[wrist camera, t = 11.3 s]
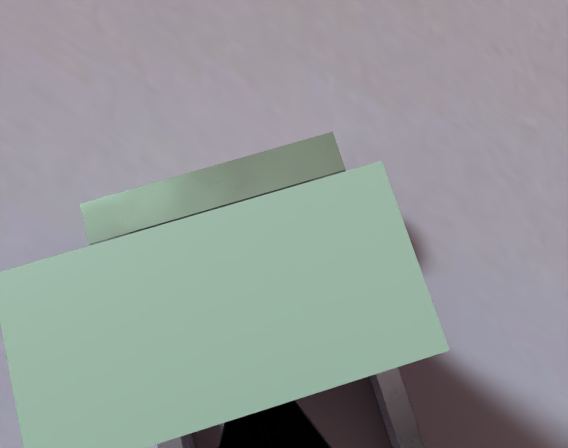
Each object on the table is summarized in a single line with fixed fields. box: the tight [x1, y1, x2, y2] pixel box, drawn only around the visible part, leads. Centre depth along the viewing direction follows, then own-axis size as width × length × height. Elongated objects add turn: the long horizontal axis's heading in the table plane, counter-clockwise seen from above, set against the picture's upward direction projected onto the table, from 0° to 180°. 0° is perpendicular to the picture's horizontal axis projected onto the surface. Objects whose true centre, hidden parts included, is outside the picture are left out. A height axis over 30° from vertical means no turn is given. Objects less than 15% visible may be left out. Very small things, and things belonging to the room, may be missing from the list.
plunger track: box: [80, 132, 425, 448], centre depth 15 cm, size 11×8×4 cm
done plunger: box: [0, 161, 450, 448], centre depth 12 cm, size 2×5×11 cm, turn 107°
